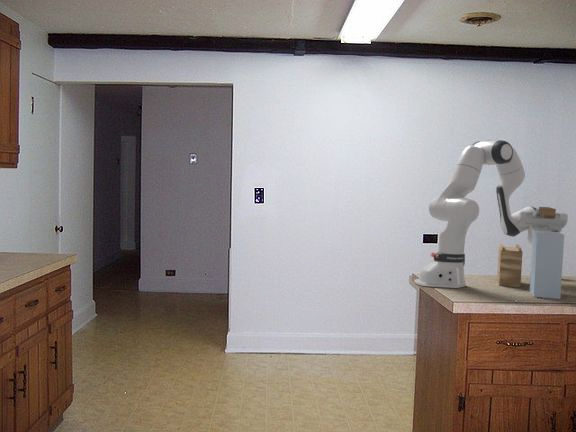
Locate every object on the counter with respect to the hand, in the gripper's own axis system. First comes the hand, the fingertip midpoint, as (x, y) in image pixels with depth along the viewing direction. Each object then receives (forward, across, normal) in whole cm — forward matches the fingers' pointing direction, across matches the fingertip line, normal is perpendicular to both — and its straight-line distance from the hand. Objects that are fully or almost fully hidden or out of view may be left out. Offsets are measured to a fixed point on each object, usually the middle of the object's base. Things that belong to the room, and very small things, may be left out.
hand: (544, 210), depth 262 cm
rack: (-24, -13, +26) cm, 38 cm away
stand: (-5, 0, +37) cm, 37 cm away
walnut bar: (+4, 0, +5) cm, 7 cm away
